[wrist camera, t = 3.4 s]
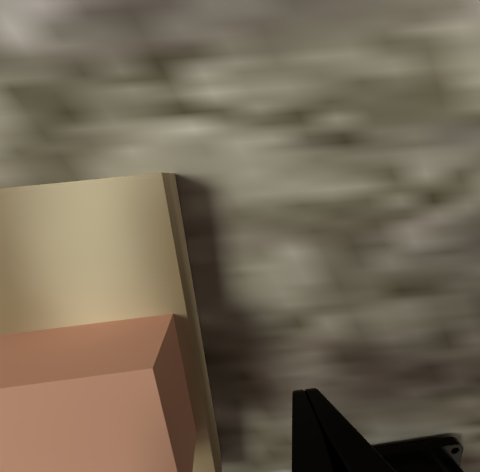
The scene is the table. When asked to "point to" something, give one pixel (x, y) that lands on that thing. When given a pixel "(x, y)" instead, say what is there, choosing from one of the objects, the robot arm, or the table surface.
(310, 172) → the table surface
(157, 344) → the coral tile
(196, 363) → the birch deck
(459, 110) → the table surface
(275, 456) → the table surface
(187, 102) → the table surface
